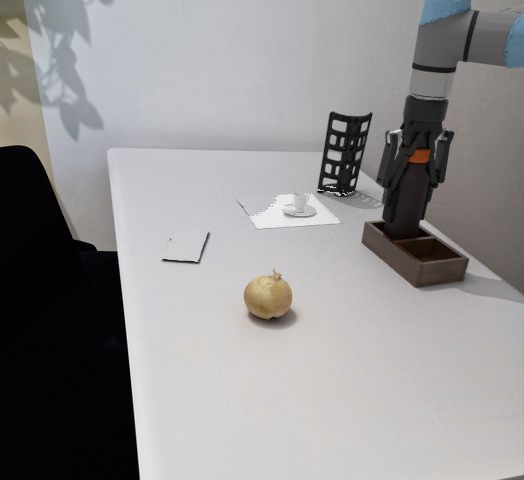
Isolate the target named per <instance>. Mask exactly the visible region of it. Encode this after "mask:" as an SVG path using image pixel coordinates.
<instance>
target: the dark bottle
mask: <svg viewBox="0 0 524 480" xmlns="http://www.w3.org/2000/svg"><path fill="white" fill-rule="evenodd" d="M404 149H406V150H408V148H406V147H404ZM429 154H430V150H429V149H416V151H415V152H414V155H413V156H412V157H410V159H409V161H408V163H407V165H406V167H405V169H404V171H403V173H402V175H401V177H400V179H399V181H398V183H397V185H396V187H395V189H396V190H398V195H397V200H396V205H395V210H394V215H393V220H392V223H387V222H386V221H385V225H384V230H383V233H384V234H385V235H387V236H388V237H389V238H390V239H392V240H393V241H394V240H403V239H412V238H417V233H418V229H419V225H421V221H422V220H421V215H422V210H423V206H424V201H425V197H426V192H427V188H428V183H429V179H430V177H429V174H428V172H427V171H426V169H425V165H426V164H427V162H428V160H429Z"/></svg>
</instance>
